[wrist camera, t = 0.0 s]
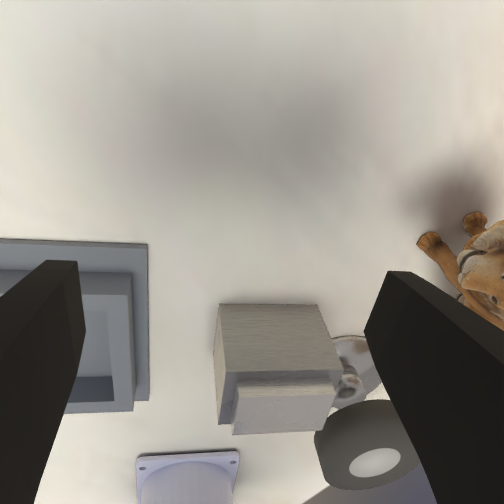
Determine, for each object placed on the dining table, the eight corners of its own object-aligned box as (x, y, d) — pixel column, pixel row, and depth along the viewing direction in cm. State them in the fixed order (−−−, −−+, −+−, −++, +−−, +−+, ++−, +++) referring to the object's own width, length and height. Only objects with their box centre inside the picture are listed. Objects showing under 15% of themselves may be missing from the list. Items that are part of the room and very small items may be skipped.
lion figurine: (385, 188, 20) (504, 304, 12) (487, 149, 19) (673, 245, 12) (412, 360, 28) (494, 492, 21) (484, 336, 28) (593, 462, 20)
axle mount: (369, 400, 30) (380, 426, 28) (281, 404, 29) (288, 431, 27) (399, 335, 26) (415, 361, 24) (300, 335, 25) (309, 362, 23)
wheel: (390, 454, 26) (404, 486, 24) (304, 460, 25) (313, 494, 23) (423, 397, 23) (442, 429, 21) (326, 401, 22) (338, 435, 20)
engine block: (302, 351, 26) (329, 436, 21) (212, 353, 25) (219, 442, 20) (316, 304, 24) (350, 385, 19) (218, 302, 23) (227, 389, 18)
